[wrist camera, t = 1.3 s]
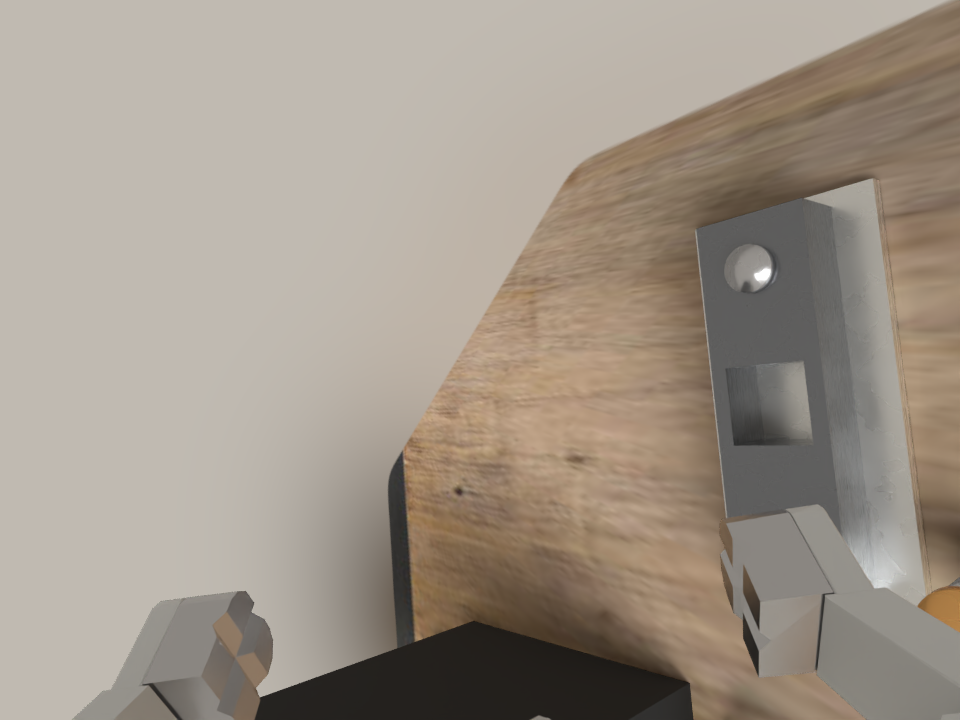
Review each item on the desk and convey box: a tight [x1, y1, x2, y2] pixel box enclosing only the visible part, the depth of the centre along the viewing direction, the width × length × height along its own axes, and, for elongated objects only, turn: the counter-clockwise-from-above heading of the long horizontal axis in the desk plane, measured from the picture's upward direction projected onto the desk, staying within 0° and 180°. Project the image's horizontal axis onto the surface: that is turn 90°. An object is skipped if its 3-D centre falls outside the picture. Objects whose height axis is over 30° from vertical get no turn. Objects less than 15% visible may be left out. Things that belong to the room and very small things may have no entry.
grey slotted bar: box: [695, 178, 932, 606], centre depth 41 cm, size 26×12×6 cm, turn 8°
